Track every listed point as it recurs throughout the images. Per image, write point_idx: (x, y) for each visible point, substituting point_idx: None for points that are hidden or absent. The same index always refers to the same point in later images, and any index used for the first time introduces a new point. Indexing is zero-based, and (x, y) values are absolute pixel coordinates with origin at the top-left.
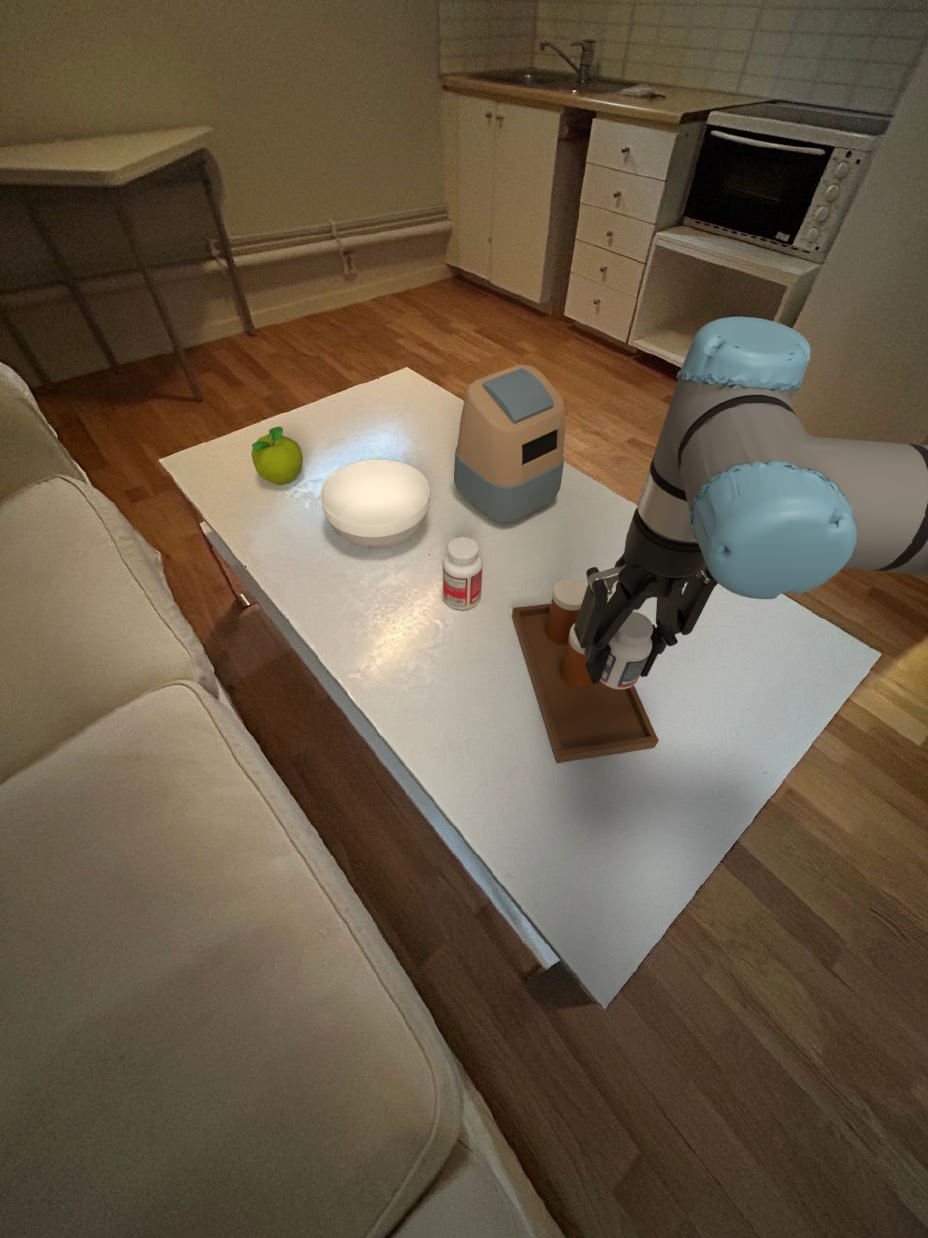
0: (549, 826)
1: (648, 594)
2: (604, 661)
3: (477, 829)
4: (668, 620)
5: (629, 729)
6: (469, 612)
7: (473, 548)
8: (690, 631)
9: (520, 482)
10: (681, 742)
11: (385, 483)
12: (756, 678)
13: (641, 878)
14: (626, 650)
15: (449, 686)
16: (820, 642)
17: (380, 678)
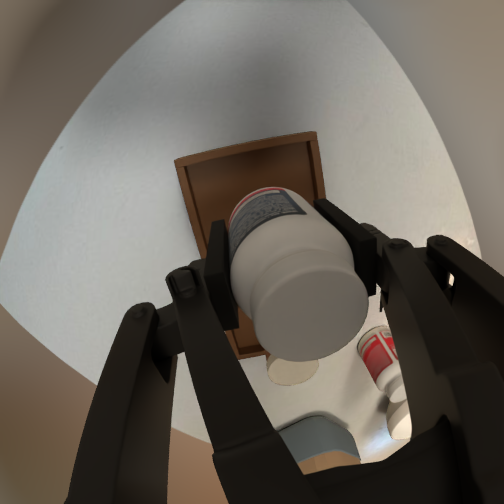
0: (324, 59)
1: (481, 471)
2: (346, 223)
3: (394, 69)
4: (219, 348)
5: (208, 180)
6: (372, 325)
7: (396, 393)
8: (129, 312)
9: (313, 457)
10: (142, 171)
11: (407, 419)
12: (59, 268)
13: (226, 9)
14: (321, 241)
15: (409, 233)
16: (18, 309)
17: (457, 240)
